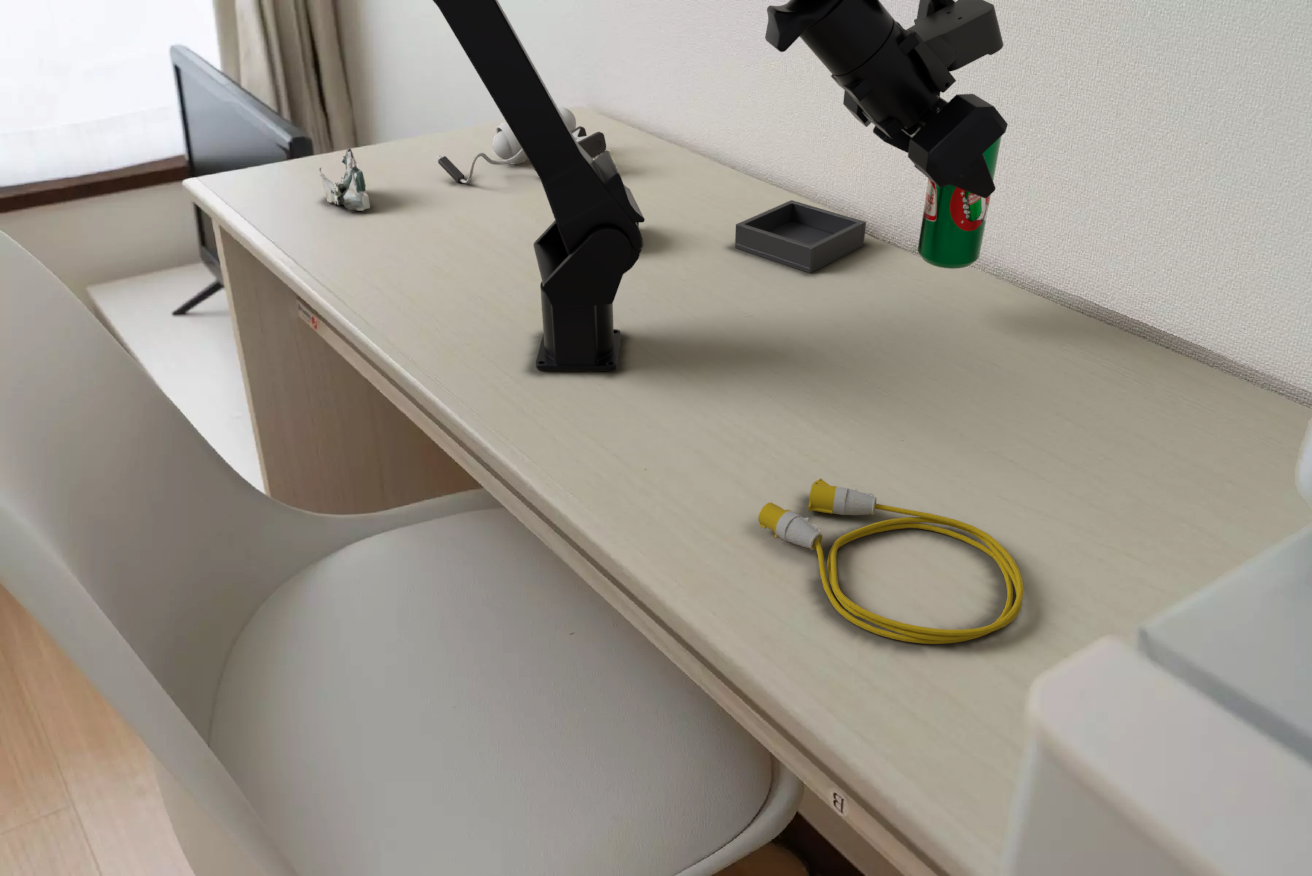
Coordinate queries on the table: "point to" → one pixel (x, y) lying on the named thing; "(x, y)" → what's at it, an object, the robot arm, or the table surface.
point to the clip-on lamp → (513, 152)
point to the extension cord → (864, 504)
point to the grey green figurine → (348, 186)
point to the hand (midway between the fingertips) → (975, 182)
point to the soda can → (954, 221)
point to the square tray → (800, 235)
